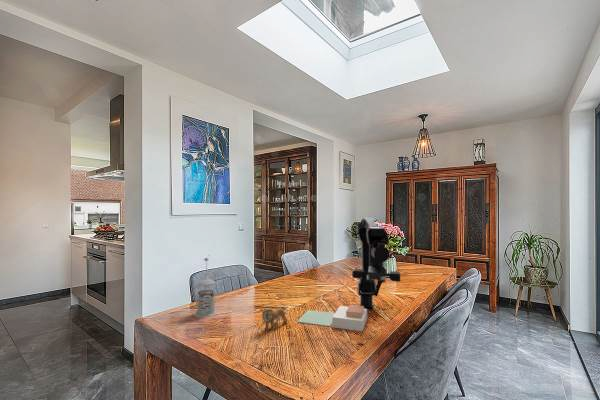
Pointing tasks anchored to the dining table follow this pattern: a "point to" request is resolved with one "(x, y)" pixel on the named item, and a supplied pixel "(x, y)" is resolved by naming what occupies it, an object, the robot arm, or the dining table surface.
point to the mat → (317, 318)
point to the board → (348, 320)
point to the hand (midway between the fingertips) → (376, 296)
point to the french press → (205, 299)
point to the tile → (355, 311)
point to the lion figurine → (273, 316)
